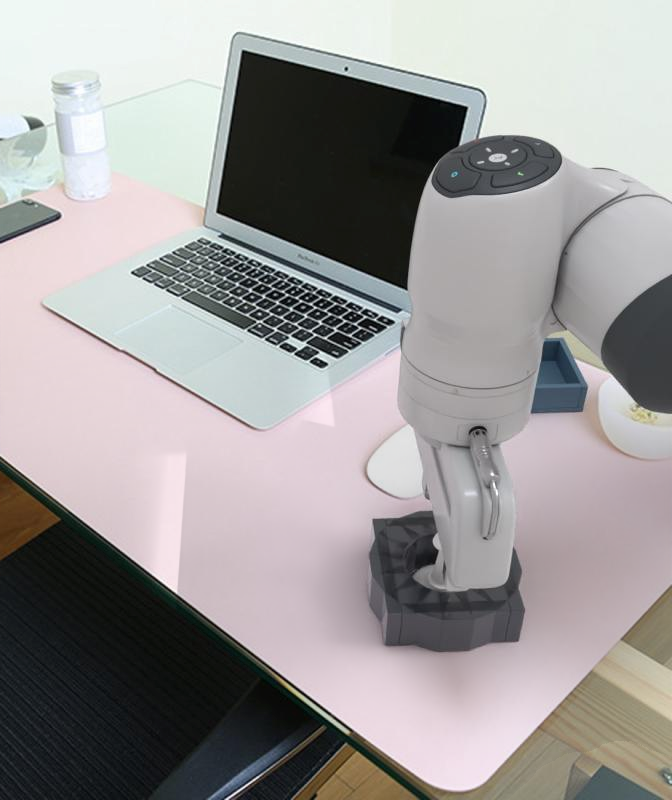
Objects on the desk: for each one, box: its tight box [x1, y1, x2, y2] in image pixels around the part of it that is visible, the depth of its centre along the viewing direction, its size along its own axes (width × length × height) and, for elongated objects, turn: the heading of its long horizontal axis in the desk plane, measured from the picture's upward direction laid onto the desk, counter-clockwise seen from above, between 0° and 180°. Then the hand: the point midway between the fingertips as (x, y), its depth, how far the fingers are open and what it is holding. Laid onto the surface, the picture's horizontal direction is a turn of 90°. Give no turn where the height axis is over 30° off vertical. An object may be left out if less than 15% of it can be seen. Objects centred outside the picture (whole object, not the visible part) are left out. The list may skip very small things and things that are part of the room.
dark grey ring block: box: [366, 510, 526, 653], centre depth 74 cm, size 11×11×4 cm
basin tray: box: [530, 337, 589, 414], centre depth 96 cm, size 9×9×3 cm
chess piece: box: [412, 533, 460, 592], centre depth 72 cm, size 5×5×10 cm
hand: (444, 536), depth 71 cm, fingers open, 8 cm apart
